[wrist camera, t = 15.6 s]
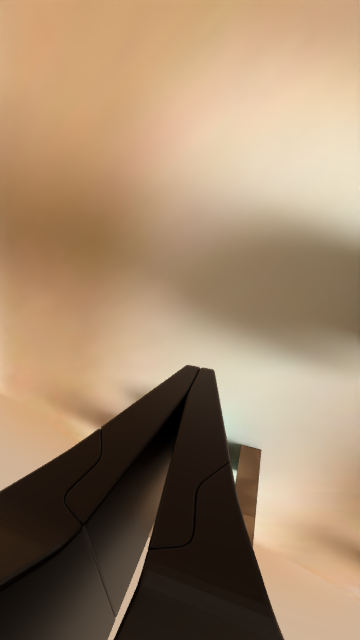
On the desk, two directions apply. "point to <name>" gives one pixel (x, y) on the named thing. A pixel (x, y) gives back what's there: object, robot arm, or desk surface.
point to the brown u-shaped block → (247, 486)
